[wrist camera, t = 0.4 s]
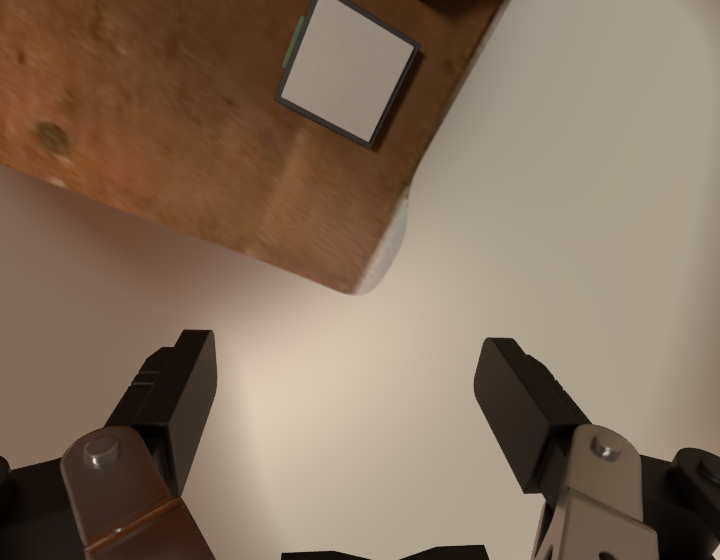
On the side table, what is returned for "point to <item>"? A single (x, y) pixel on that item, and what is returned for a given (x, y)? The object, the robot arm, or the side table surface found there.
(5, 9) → the side table surface
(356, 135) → the kitchen scale
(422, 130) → the side table surface
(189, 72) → the side table surface
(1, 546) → the robot arm
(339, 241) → the side table surface
